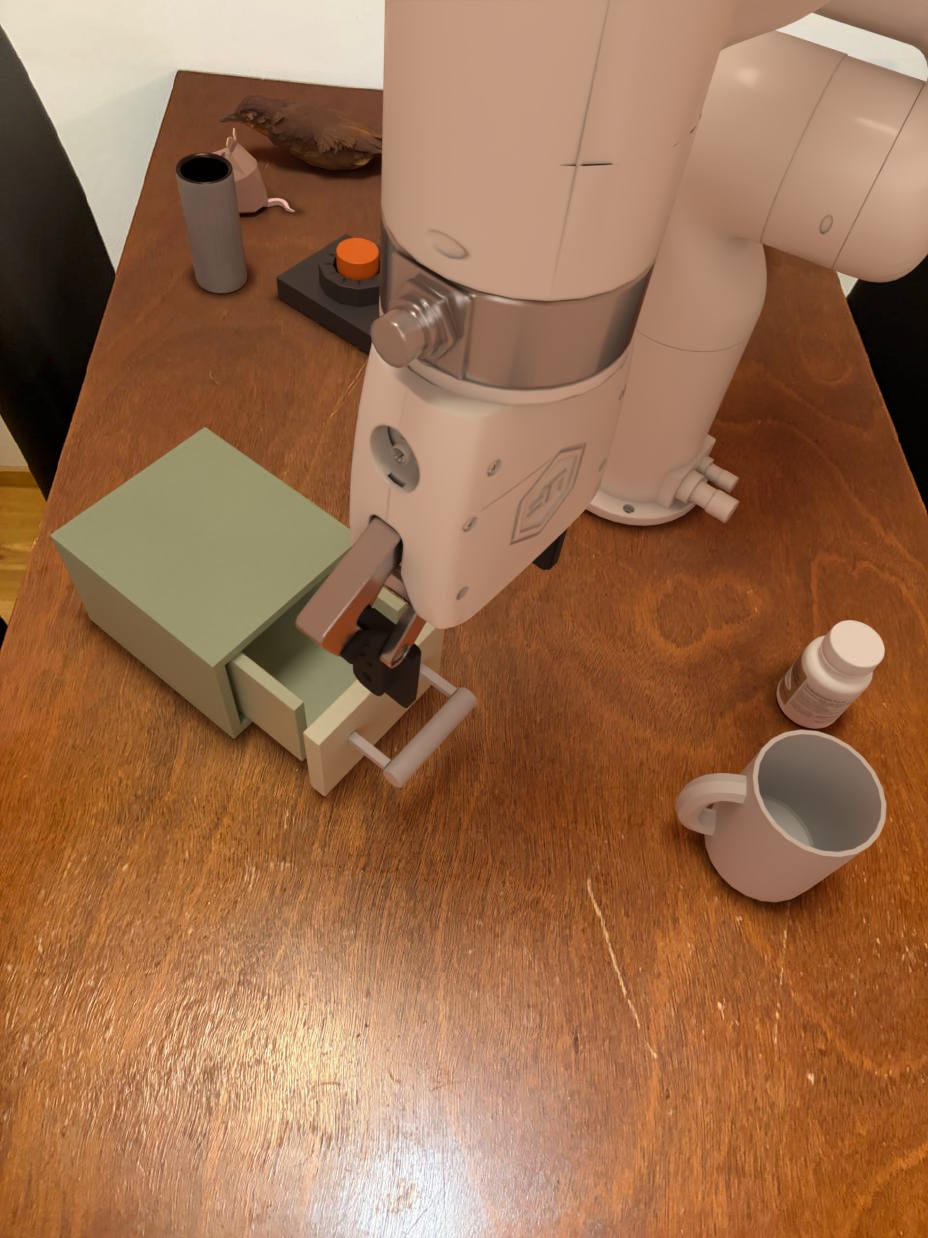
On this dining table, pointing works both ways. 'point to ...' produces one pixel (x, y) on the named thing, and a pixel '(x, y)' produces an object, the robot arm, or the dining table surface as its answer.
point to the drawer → (337, 699)
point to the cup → (786, 814)
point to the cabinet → (198, 564)
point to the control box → (333, 296)
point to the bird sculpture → (311, 131)
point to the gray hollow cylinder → (212, 221)
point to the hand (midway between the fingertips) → (458, 613)
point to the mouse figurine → (248, 179)
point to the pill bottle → (830, 674)
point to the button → (357, 259)
